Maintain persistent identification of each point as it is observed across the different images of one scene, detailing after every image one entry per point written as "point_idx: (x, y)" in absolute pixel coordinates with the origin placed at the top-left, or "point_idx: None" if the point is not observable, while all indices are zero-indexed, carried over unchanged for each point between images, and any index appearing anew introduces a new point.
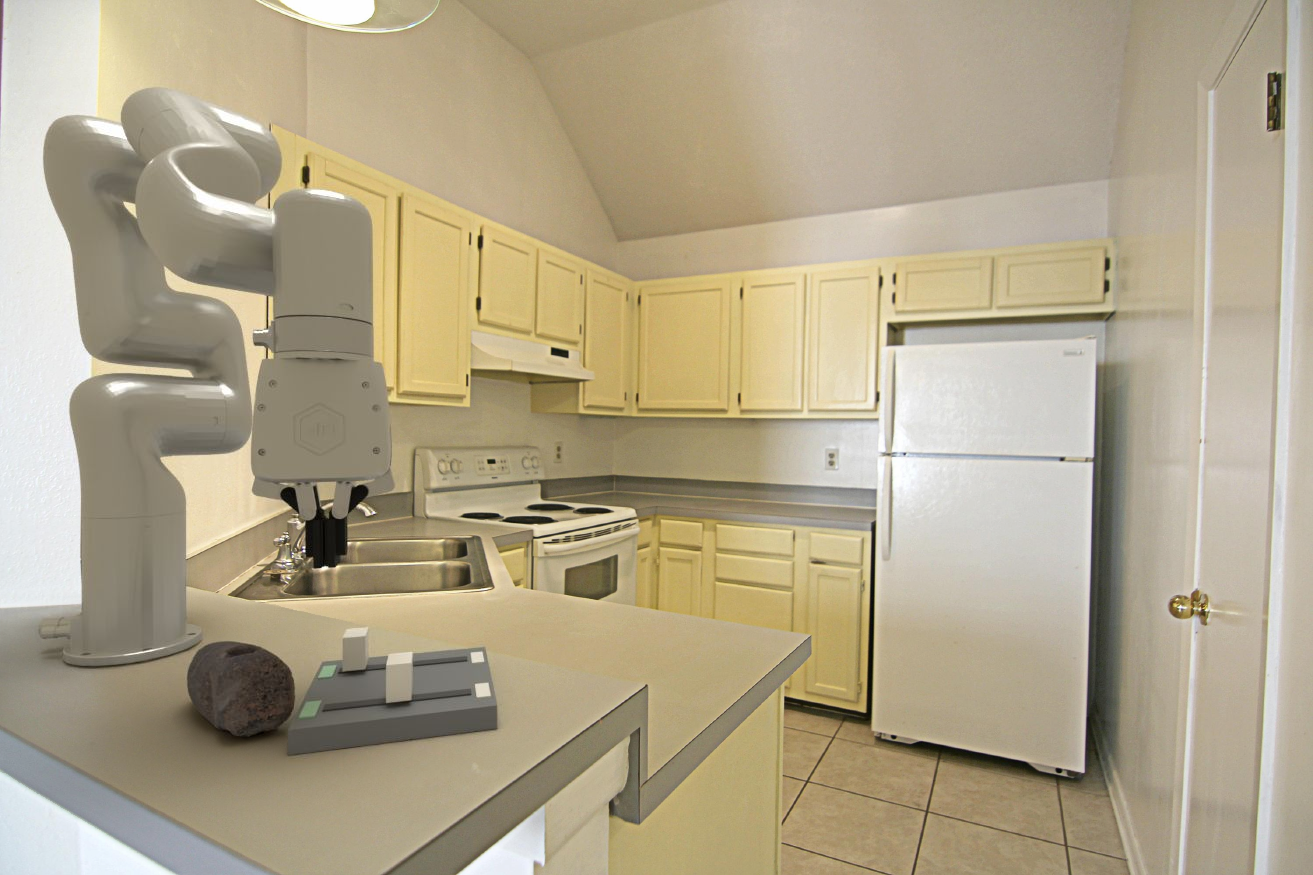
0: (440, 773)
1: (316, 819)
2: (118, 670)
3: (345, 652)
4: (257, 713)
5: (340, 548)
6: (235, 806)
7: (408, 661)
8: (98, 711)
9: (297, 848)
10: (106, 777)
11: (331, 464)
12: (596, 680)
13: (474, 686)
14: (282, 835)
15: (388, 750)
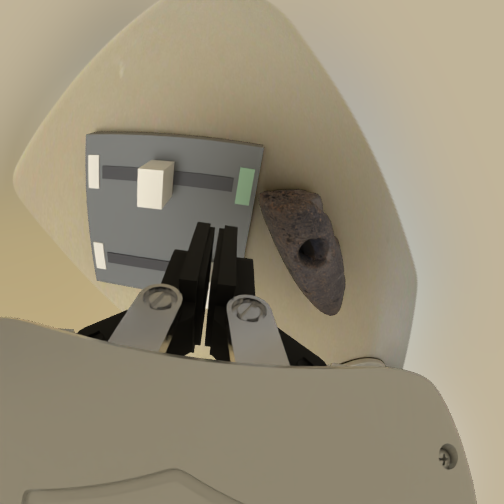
0: (146, 67)
1: (240, 33)
2: (364, 352)
3: (211, 273)
4: (290, 193)
5: (182, 254)
6: (297, 77)
7: (140, 175)
8: (381, 292)
9: (253, 7)
10: (380, 175)
11: (120, 409)
12: (30, 203)
13: (100, 186)
14: (263, 25)
15: (181, 119)
